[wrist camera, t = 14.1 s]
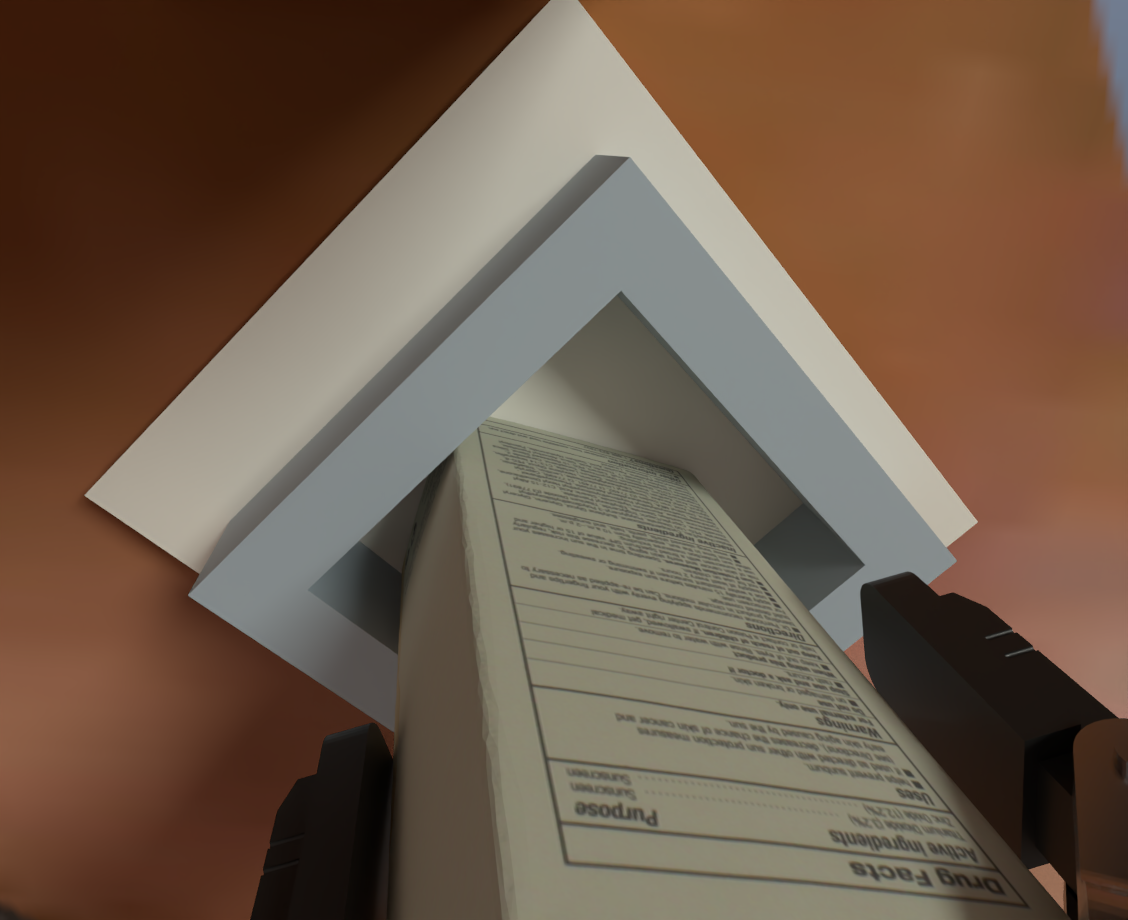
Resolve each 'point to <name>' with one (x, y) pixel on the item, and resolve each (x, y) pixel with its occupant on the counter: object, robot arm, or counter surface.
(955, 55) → the counter surface
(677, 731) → the skincare box
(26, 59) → the counter surface
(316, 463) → the collar block
